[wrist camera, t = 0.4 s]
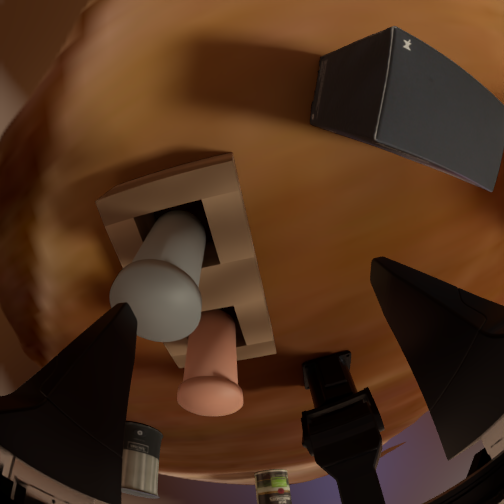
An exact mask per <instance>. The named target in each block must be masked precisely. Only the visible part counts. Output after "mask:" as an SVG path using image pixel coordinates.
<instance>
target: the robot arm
mask: <svg viewBox="0 0 504 504" xmlns="http://www.w3.org/2000/svg"><path fill="white" fill-rule="evenodd" d="M370 281H371V284H372V287H373V289H374V291H375V294H376V296H377V299H378V301H379V304H380V306H381V309H382V311H383V313H384V316H385V318H386V320H387V322H388V324H389V326H390V327H391V329H392V331H393V333H394V335H395V337H396V339H397V341H398V343H399V345H400V347H401V349H402V351H403V353H404V355H405V357H406V359H407V361H408V363H409V365H410V368H411V370H412V372H413V374H414V376H415V378H416V381H417V383H418V385H419V387H420V390H421V392H422V394H423V396H424V399H425V401H426V404H427V406H428V408H429V411H430V414H431V416H432V419H433V421H434V424H435V426H436V429H437V432H438V434H439V437H440V440H441V443H442V445H443V448H444V451H445V454H446V457H447V459H448V460H450V459H452V458H454V457H455V456H457V455H458V454H460V453H462V452H463V451H465V450H466V449H468V448H469V447H471V446H472V445H474V444H475V443H476V442H478V441H479V440H482V442H483V444H484V446H485V448H484V449H482V450H481V451H480V452H478V453H477V454H475V456H474V459H473V461H472V464H471V467H470V470H469V472H468V475H467V477H466V479H464V480H463V481H461V482H459V483H458V484H456V485H455V486H453V487H451V488H450V489H448V490H447V491H445V492H443V493H441V494H440V495H438V496H436V497H434V498H432V499H430V500H428V501H427V502H425V503H423V504H504V306H503V305H500V304H497V303H495V302H492V301H489V300H487V299H484V298H481V297H479V296H476V295H474V294H472V293H469V292H467V291H465V290H463V289H460V288H457V287H456V286H453V285H451V284H449V283H446V282H444V281H442V280H439V279H437V278H435V277H432V276H430V275H428V274H425V273H423V272H420V271H418V270H415V269H413V268H411V267H408V266H406V265H403V264H401V263H398V262H396V261H393V260H391V259H388V258H386V257H377V258H373V260H372V262H371V274H370ZM137 325H138V323H137V319H136V317H135V315H134V313H133V311H132V309H131V307H130V305H129V304H128V303H127V302H123V303H117V304H116V305H115V306H113V307H112V308H111V309H110V310H109V311H107V312H106V313H105V314H104V315H103V316H102V317H100V318H99V319H98V320H97V321H96V322H94V323H93V324H92V325H91V326H90V327H89V328H87V329H86V330H85V331H84V332H83V333H82V334H80V335H79V336H78V337H77V338H76V339H75V340H74V341H72V342H71V343H70V344H69V345H68V346H67V347H66V348H65V349H63V350H62V351H61V352H60V353H59V354H58V356H56V357H54V358H53V359H52V360H51V361H50V362H49V363H48V364H47V365H45V366H44V367H43V368H42V369H41V370H40V371H38V372H37V373H36V374H35V375H34V376H32V377H31V378H30V379H29V380H28V381H26V382H25V383H24V384H23V385H21V386H20V387H19V388H18V389H17V390H15V391H14V392H13V393H11V394H8V395H5V396H0V504H94V500H95V501H98V502H101V503H105V504H121V484H122V460H123V458H122V457H123V444H124V433H125V423H126V414H127V406H128V398H129V391H130V384H131V378H132V372H133V366H134V359H135V349H136V336H137ZM350 363H351V352H350V351H346V352H343V353H339V354H336V355H332V356H328V357H324V358H320V359H316V360H312V361H308V362H305V363H303V364H302V367H303V376H304V385H305V389H310V391H311V395H312V399H313V403H314V407H315V409H312V410H309V411H304V412H302V418H301V422H302V429H303V437H302V445H303V447H305V448H307V449H308V451H309V453H310V454H311V456H314V457H315V461H316V463H317V464H318V465H319V466H320V467H321V468H322V469H324V470H325V471H326V472H327V473H328V474H329V475H331V476H332V477H333V478H334V479H335V480H336V481H337V485H338V489H339V493H340V498H341V502H342V504H385V501H384V497H383V494H382V490H381V487H380V484H379V480H378V477H377V473H376V467H377V465H378V461H379V458H380V455H381V451H382V438H381V435H380V432H381V431H383V430H384V425H383V422H382V419H381V416H380V413H379V411H378V408H377V406H376V404H375V401H374V399H373V397H372V395H371V393H370V390H369V388H368V387H367V388H364V390H361V391H359V392H357V390H356V387H355V384H354V382H353V379H352V376H351V374H350Z"/></svg>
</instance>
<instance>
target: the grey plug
mask: <svg viewBox="0 0 504 504" xmlns="http://www.w3.org/2000/svg"><path fill="white" fill-rule="evenodd" d="M205 244H206V231H205V228H204V226H203V224H202V223H201V221H200V220H199V219H198V218H197V217H196V216H194V215H193V214H191V213H189V212H186V211H181V210H174V211H169V212H167V213H165V214H163V215H162V216H160V217H159V218H158V220H157V221H156V222H155V224H154V226H153V227H152V229H151V231H150V232H149V234H148V235H147V237H146V239H145V240H144V242H143V244H142V245H141V247H140V249H139V251H138V252H137V254H136V256H135V257H134V259H133V261H132V263H130V264H128V265H127V266H125V267H124V268H123V269H122V270H121V271H120V273H119V274H118V276H117V277H116V279H115V281H114V283H113V285H112V287H111V290H110V304H111V308H112V307H113V306H115V305H116V304H117V303H123V302H127V303H128V304H129V305H130V307H131V309H132V311H133V313H134V315H135V317H136V319H137V323H138V325H137V335H138V336H140V337H143V338H145V339H148V340H152V341H158V342H171V341H177V340H180V339H183V338H185V337H187V336H188V335H190V334H191V333H192V332H193V331H194V330H195V329H196V328H197V326H198V324H199V322H200V317H201V309H202V297H201V293H200V290H199V288H198V287H199V281H200V274H201V268H202V262H203V256H204V250H205Z"/></svg>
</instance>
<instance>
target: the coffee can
mask: <svg viewBox="0 0 504 504" xmlns="http://www.w3.org/2000/svg"><path fill="white" fill-rule="evenodd" d="M254 475H255V485H256V497H257V504H292V502H291V495H290V489H289V482H288V475H287V470H282V469H277V470H266V471H261V472H257V473H255V474H254Z"/></svg>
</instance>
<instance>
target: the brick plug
mask: <svg viewBox="0 0 504 504" xmlns="http://www.w3.org/2000/svg"><path fill="white" fill-rule="evenodd" d="M177 401H178V403H179V405H180V406H181V407H183V408H184V409H186V410H187V411H189V412H192V413H195V414H198V415H203V416H224V415H228V414H231V413H234V412H236V411H238V410H239V409H240V408H241V407H242V405H243V392H242V389H241V387H240V386H239V385H238V376H237V354H236V331H235V321H234V319H233V318H232V317H231V316H230V315H229V314H228V313H226V312H224V311H222V310H218V309H213V310H207V311H202V312H201V317H200V322H199V324H198V326H197V328H196V329H195V330H194V331H193V332H192V333H191V334H190V335H189V339H188V346H187V354H186V362H185V370H184V379H183V382H182V383H181V384H180V385H179V387H178V395H177Z"/></svg>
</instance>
